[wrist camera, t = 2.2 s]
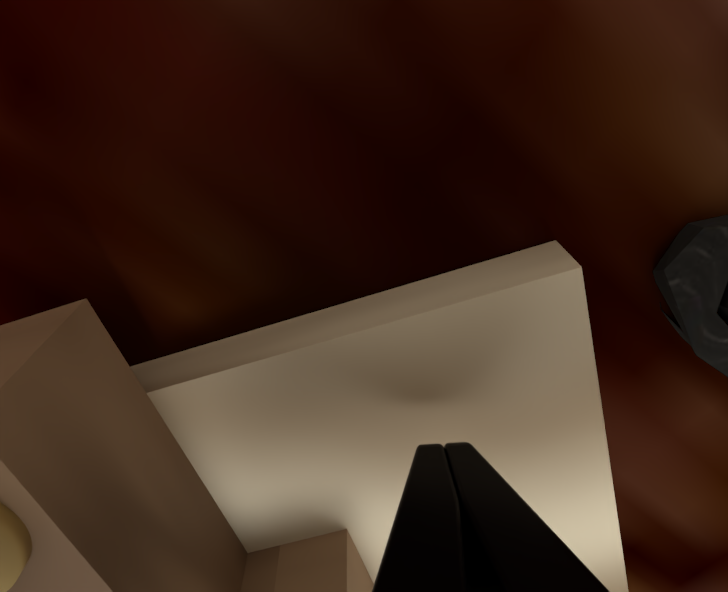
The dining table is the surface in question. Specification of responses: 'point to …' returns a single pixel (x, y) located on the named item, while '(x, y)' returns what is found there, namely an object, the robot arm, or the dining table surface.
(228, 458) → the birch board
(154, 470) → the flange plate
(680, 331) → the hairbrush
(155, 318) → the dining table surface
